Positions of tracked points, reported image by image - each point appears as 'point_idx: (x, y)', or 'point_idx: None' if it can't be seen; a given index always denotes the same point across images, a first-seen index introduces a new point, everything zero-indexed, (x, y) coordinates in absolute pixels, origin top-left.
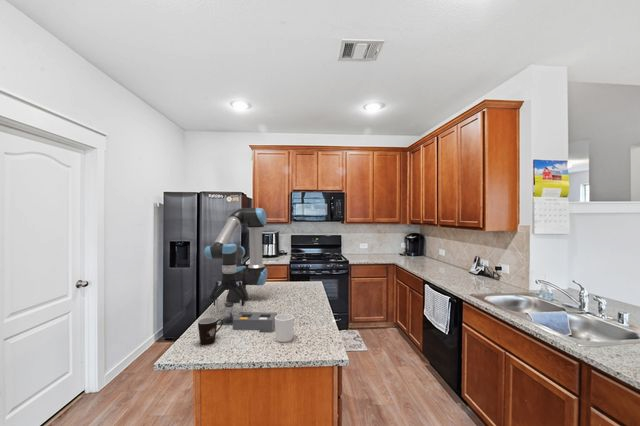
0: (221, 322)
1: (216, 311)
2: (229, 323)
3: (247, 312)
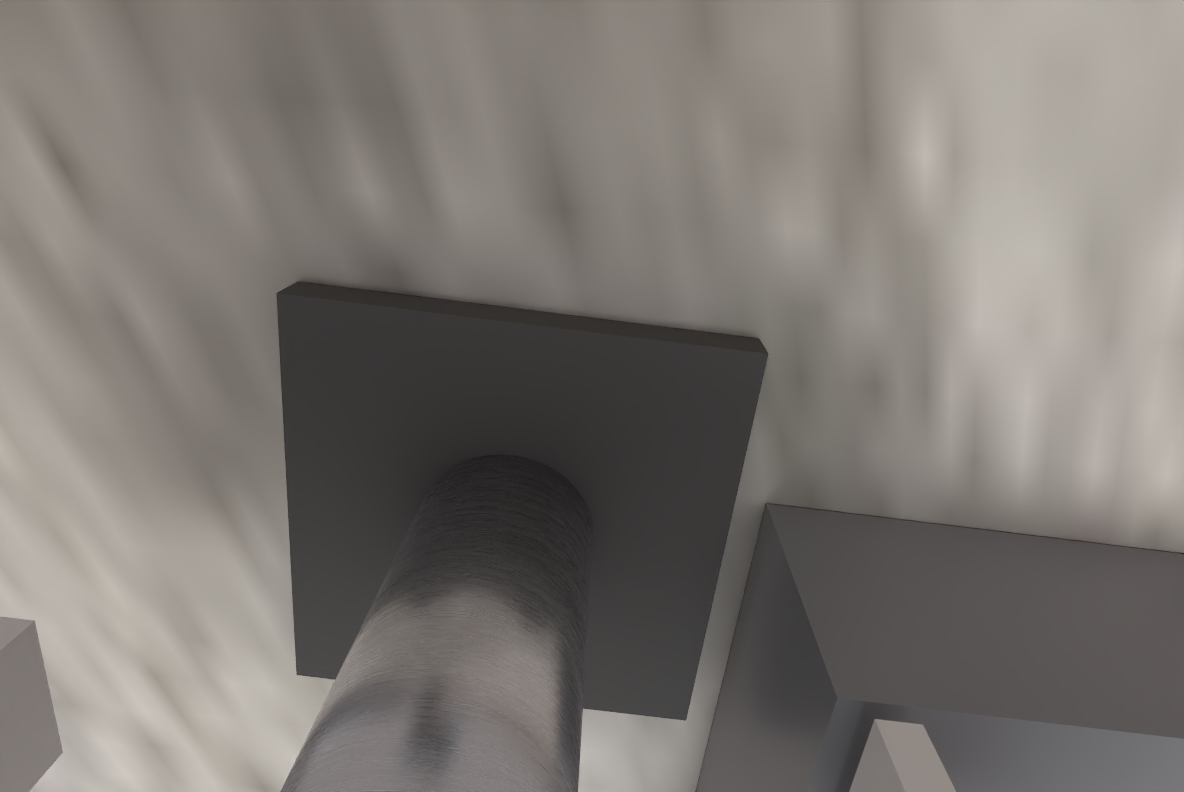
0: (341, 554)
1: (39, 768)
2: None
3: (1069, 748)
